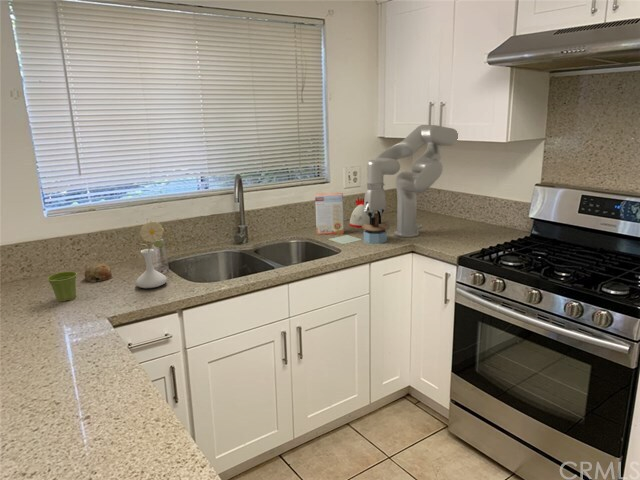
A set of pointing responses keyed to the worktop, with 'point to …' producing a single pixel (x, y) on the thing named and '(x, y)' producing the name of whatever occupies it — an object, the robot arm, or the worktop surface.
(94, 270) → the bread roll
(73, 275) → the plant pot
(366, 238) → the bowl
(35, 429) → the worktop surface
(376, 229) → the lid
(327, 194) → the cracker box
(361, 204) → the kitchen timer
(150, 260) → the flower in vase
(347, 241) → the mat
